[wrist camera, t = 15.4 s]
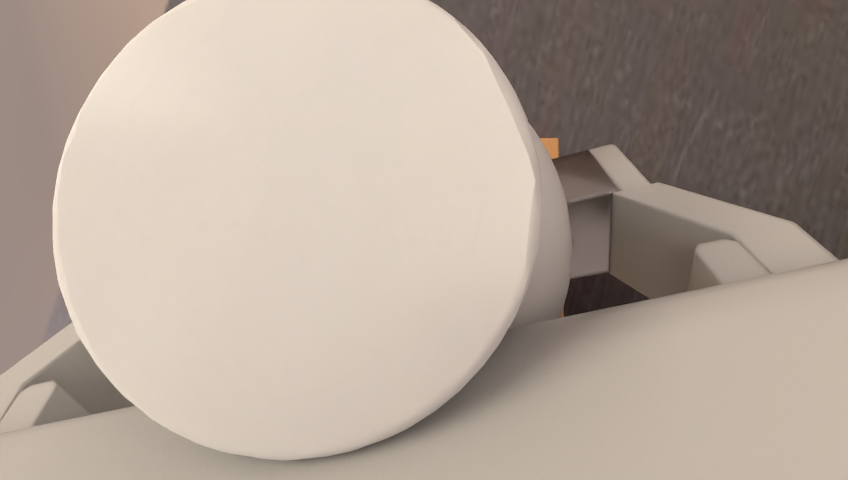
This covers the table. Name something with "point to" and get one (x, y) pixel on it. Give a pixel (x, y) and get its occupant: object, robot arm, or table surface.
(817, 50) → the table surface
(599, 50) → the table surface
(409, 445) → the robot arm
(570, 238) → the supplement bottle
